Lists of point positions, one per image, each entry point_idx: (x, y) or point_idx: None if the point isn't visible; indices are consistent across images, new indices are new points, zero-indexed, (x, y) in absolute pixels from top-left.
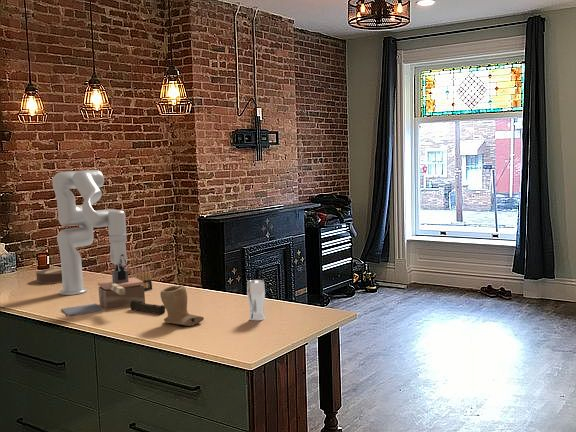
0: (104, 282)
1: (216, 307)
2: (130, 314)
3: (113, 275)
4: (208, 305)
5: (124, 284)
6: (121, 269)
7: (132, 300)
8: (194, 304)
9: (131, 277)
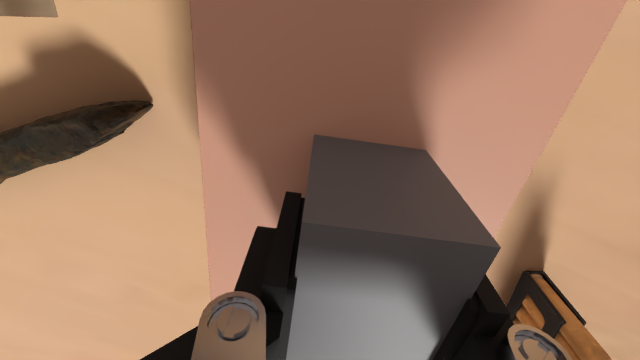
0: (516, 63)
1: (4, 339)
2: (10, 38)
3: (385, 191)
4: (51, 338)
5: (205, 189)
6: (162, 356)
7: (86, 125)
8: (95, 321)
9: (596, 356)
